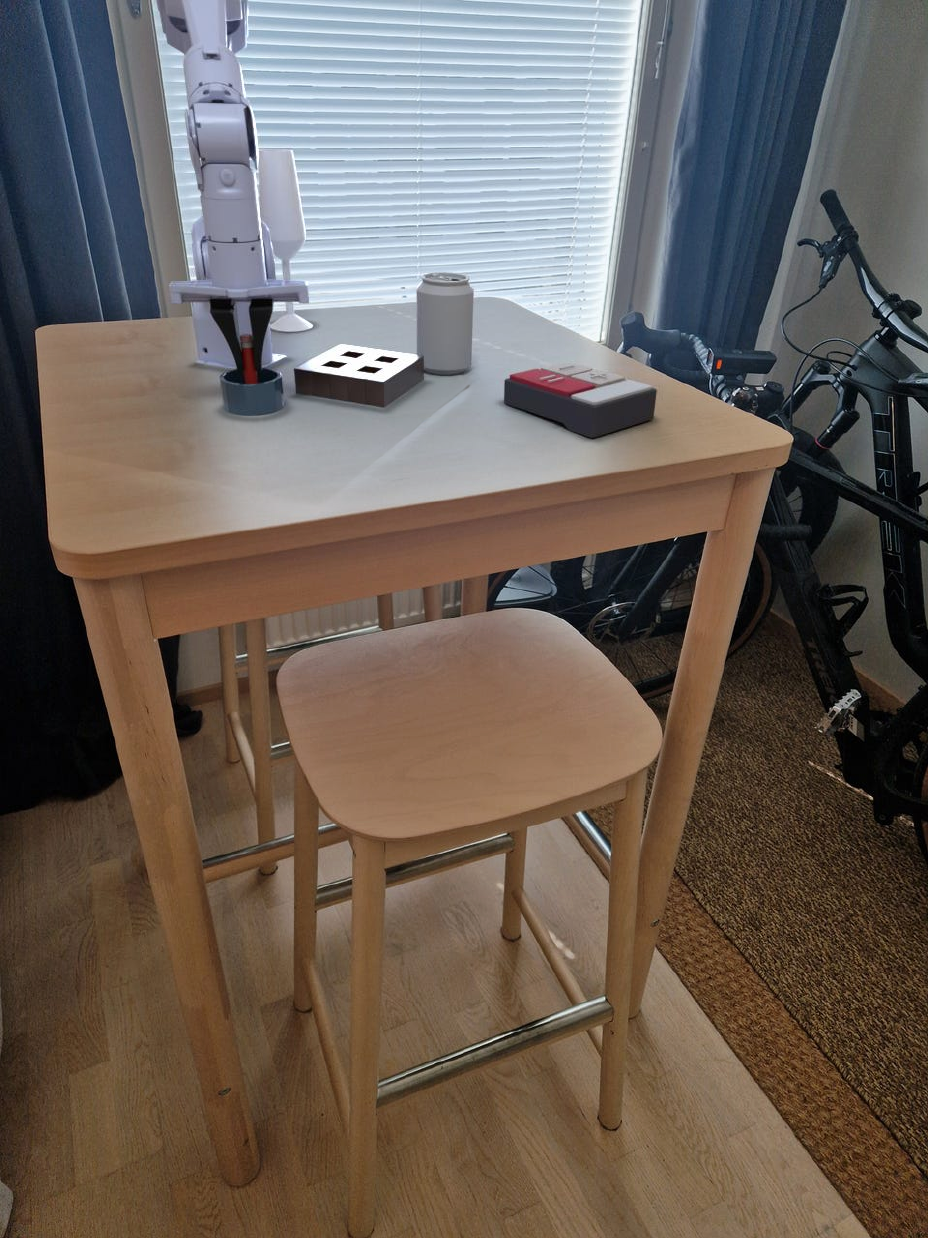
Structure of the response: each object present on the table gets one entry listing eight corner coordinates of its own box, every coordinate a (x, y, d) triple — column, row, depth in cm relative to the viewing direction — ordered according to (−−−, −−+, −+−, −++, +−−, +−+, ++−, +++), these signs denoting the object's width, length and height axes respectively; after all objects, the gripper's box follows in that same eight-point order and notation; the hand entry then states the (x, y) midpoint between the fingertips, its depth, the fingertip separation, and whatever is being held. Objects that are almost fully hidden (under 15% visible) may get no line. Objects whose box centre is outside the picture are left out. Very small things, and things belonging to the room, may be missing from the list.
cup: (212, 414, 92) (207, 379, 90) (246, 396, 98) (242, 363, 95) (263, 423, 90) (259, 388, 88) (295, 404, 96) (292, 371, 94)
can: (465, 378, 106) (468, 282, 99) (410, 373, 107) (409, 278, 100) (475, 363, 112) (479, 271, 105) (424, 358, 113) (424, 267, 107)
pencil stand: (296, 396, 98) (293, 368, 96) (342, 370, 108) (340, 343, 106) (384, 411, 95) (383, 381, 93) (424, 382, 104) (424, 355, 102)
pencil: (245, 406, 93) (236, 336, 89) (252, 402, 95) (244, 333, 90) (256, 408, 93) (247, 337, 89) (262, 404, 94) (255, 334, 90)
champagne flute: (279, 319, 129) (262, 147, 116) (319, 322, 128) (306, 149, 115) (262, 329, 124) (243, 150, 110) (303, 333, 123) (289, 152, 109)
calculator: (566, 358, 102) (659, 382, 93) (564, 391, 105) (655, 418, 95) (502, 372, 97) (595, 400, 87) (502, 407, 99) (592, 438, 89)
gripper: (156, 244, 79) (179, 380, 87) (304, 245, 82) (314, 377, 89) (166, 233, 85) (187, 361, 93) (304, 234, 87) (313, 359, 95)
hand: (249, 368), depth 91 cm, fingers closed on pencil, 1 cm apart
